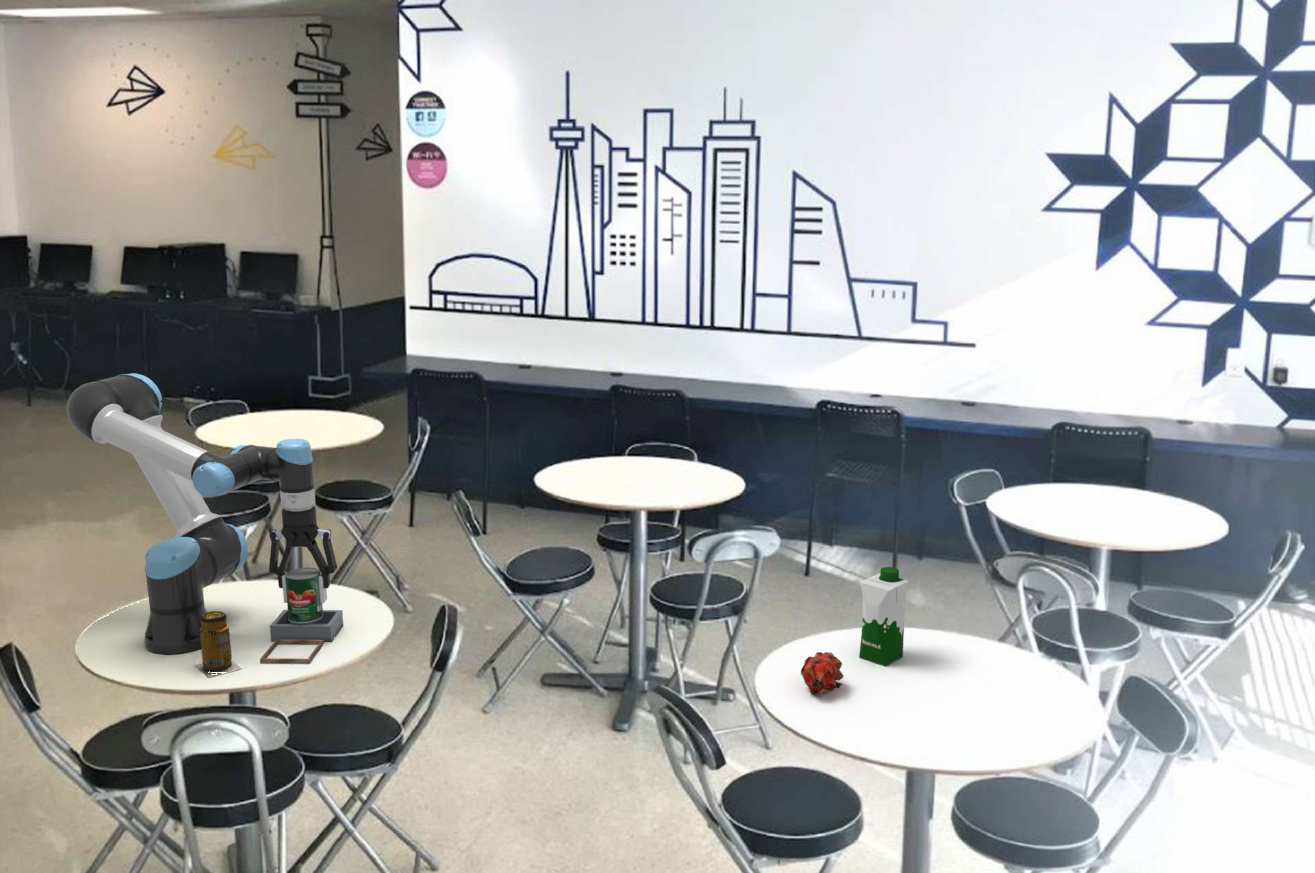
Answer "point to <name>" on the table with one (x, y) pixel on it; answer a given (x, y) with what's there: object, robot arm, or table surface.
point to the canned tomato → (303, 595)
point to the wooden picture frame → (292, 660)
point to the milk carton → (883, 617)
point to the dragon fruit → (822, 672)
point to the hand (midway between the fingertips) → (305, 600)
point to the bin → (307, 627)
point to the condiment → (215, 644)
